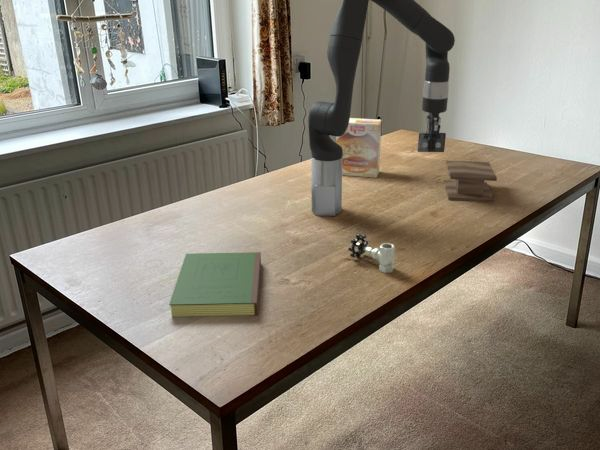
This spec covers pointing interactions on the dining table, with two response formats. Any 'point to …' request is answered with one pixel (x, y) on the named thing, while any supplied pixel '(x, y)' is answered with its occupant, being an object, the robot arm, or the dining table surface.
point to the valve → (375, 253)
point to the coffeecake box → (361, 147)
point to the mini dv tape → (424, 140)
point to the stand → (469, 181)
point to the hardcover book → (217, 285)
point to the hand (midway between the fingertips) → (430, 149)
